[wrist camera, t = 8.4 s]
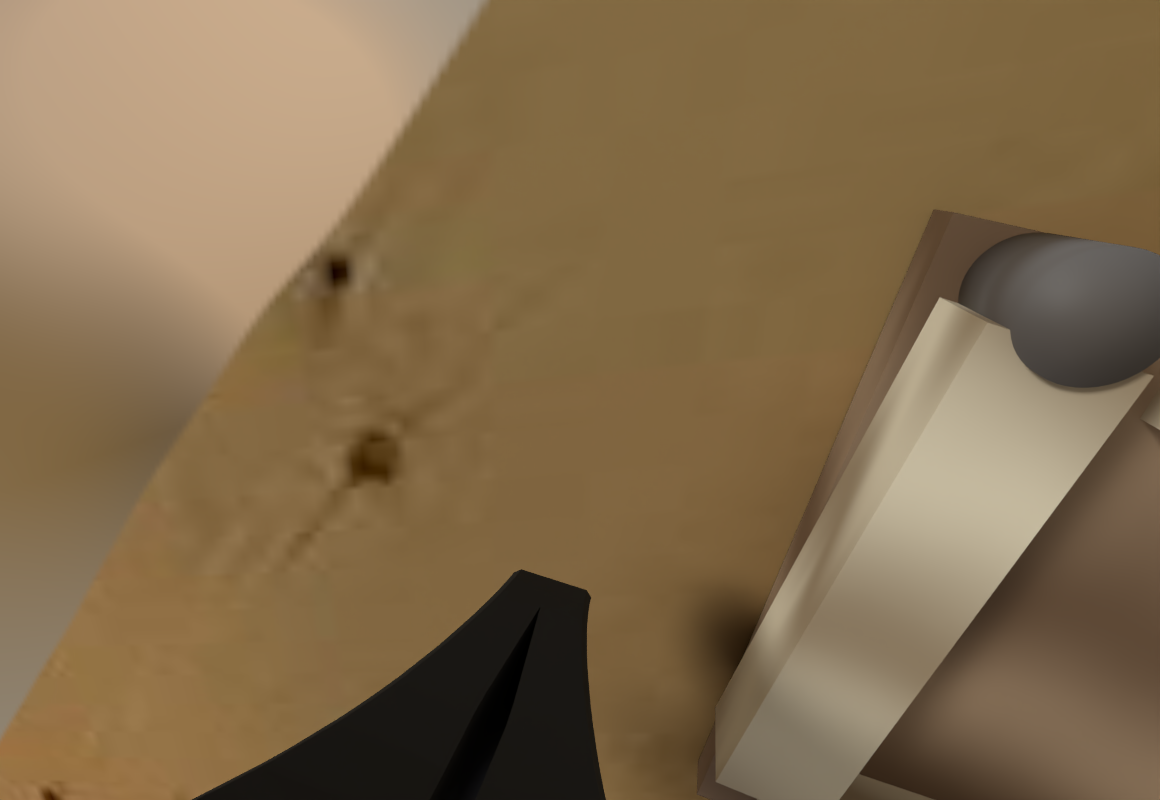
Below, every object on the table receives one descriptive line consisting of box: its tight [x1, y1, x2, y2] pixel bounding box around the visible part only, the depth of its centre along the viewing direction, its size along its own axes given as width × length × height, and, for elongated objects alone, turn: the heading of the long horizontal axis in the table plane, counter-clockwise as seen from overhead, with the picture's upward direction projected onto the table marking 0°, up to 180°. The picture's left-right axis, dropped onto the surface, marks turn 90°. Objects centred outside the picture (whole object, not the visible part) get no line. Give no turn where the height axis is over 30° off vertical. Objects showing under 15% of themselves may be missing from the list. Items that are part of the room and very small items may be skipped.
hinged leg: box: [715, 232, 1160, 800], centre depth 11 cm, size 12×2×2 cm, turn 164°
